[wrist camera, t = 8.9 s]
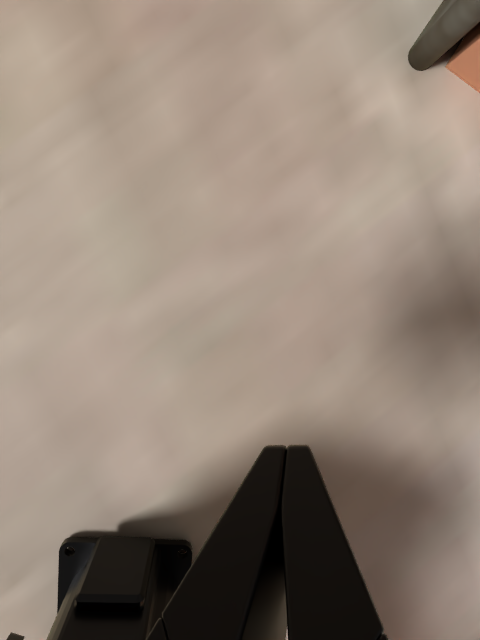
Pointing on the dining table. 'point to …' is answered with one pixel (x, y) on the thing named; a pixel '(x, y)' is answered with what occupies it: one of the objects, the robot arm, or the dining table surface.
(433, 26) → the book rack
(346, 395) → the dining table surface
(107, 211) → the dining table surface
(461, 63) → the book
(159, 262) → the dining table surface
